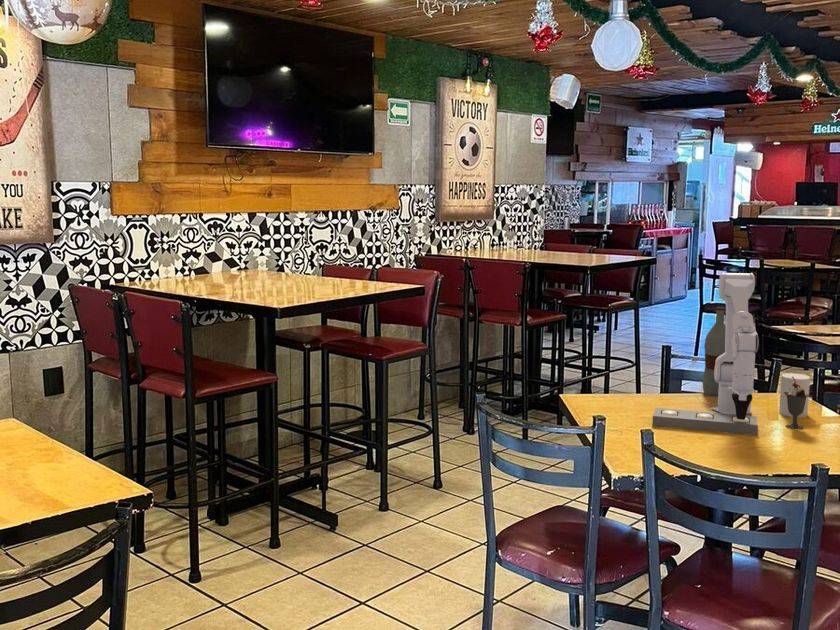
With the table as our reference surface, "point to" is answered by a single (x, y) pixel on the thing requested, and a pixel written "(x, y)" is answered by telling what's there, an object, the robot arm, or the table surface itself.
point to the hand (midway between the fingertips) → (740, 418)
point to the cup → (785, 386)
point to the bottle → (714, 352)
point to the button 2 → (740, 419)
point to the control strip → (705, 421)
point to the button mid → (704, 416)
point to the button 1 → (669, 413)
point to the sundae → (795, 403)
